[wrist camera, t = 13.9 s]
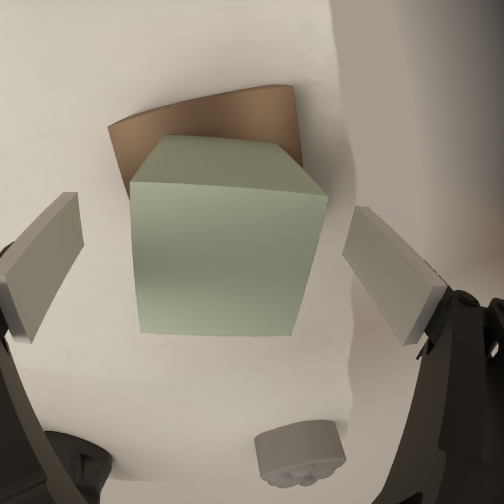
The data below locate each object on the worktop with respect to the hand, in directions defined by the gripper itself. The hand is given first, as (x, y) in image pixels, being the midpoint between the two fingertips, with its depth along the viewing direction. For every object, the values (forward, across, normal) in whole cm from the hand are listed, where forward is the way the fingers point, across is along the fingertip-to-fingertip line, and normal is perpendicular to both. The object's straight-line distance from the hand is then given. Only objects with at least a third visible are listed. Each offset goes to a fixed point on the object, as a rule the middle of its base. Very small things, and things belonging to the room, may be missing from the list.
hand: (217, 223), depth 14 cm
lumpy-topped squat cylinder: (+9, +15, -41) cm, 44 cm away
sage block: (+4, 0, 0) cm, 4 cm away
